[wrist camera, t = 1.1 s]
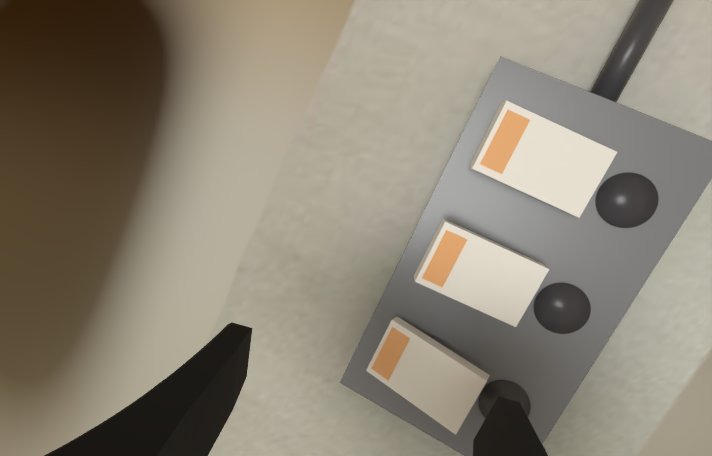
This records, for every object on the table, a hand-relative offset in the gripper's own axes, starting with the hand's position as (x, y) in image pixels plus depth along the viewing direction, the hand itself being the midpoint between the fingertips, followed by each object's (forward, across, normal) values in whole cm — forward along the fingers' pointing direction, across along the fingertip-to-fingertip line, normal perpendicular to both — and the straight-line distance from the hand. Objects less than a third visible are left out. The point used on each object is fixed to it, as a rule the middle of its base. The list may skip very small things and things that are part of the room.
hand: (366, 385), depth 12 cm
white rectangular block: (+6, -3, +6) cm, 9 cm away
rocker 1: (+10, -5, -5) cm, 12 cm away
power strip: (+12, -7, -1) cm, 14 cm away
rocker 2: (+8, -4, 0) cm, 9 cm away
